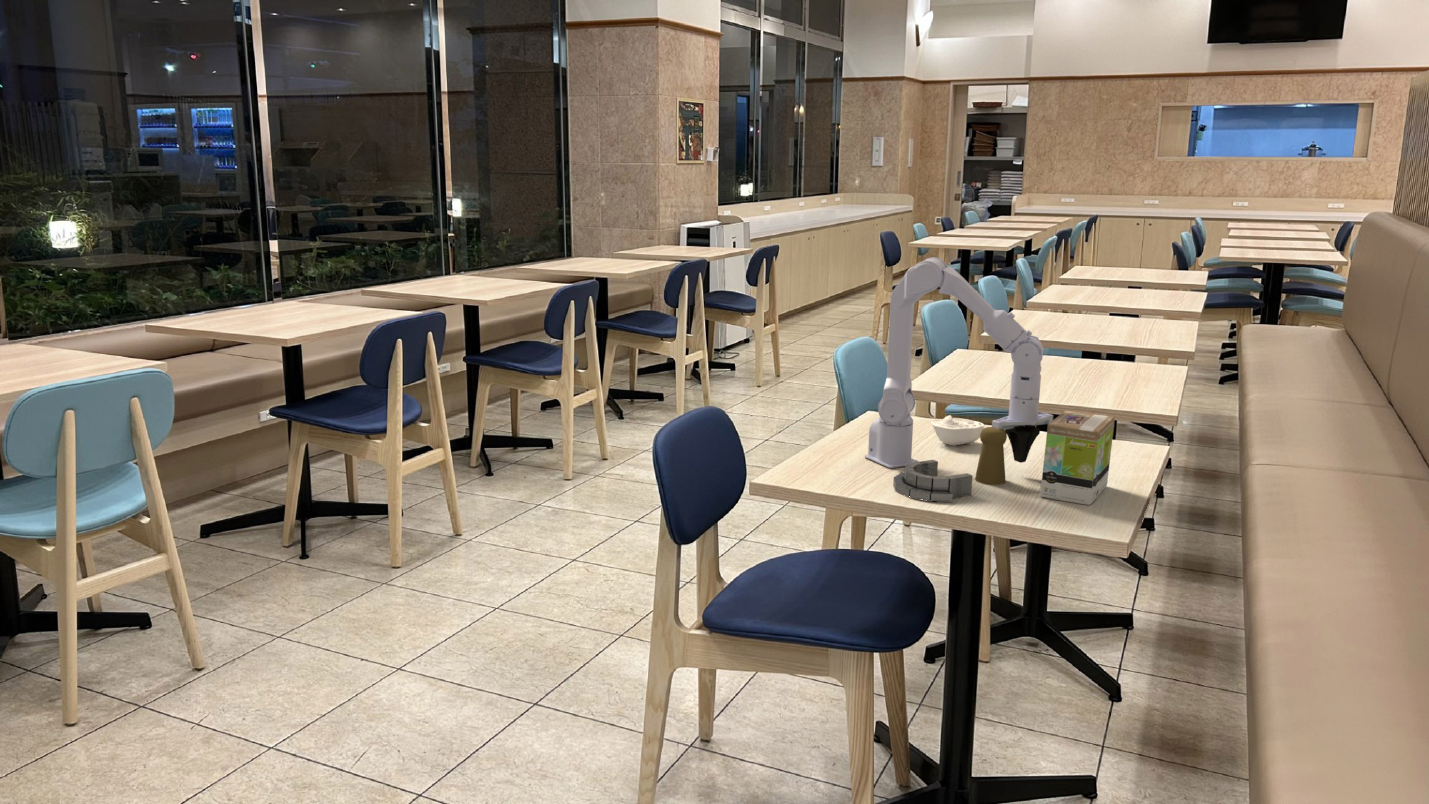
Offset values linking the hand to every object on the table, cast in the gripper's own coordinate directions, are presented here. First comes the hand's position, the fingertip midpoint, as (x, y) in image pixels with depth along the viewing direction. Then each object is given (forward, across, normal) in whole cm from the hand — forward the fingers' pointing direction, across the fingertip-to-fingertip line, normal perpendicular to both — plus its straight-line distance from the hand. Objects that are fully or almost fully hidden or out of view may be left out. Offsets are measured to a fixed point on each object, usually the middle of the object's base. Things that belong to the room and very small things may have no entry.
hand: (1019, 461), depth 215 cm
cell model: (+3, +4, +25) cm, 26 cm away
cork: (+3, -8, 0) cm, 8 cm away
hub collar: (+3, -24, 0) cm, 24 cm away
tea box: (+3, +2, -13) cm, 14 cm away
